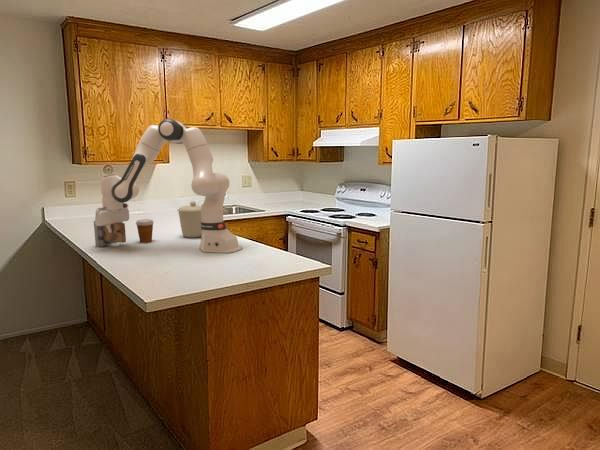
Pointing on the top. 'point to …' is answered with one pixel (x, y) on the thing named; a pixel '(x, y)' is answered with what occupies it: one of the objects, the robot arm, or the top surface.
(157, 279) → the top surface
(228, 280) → the top surface
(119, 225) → the walnut door
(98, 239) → the cabinet side
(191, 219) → the canister
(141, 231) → the disposable coffee cup
